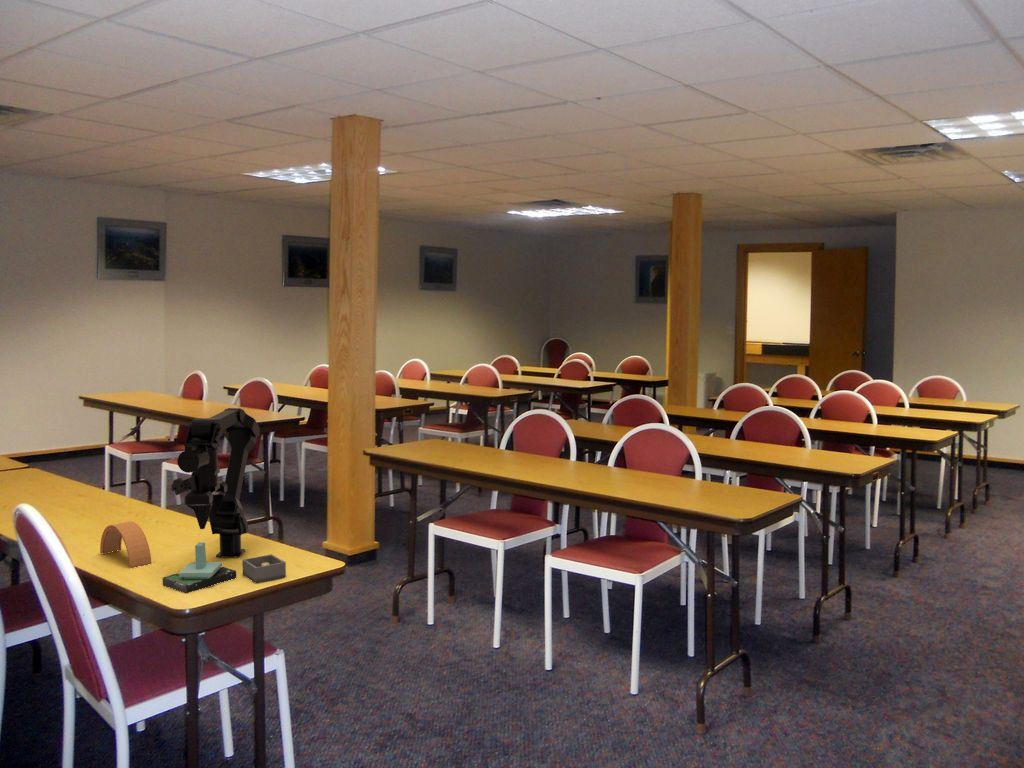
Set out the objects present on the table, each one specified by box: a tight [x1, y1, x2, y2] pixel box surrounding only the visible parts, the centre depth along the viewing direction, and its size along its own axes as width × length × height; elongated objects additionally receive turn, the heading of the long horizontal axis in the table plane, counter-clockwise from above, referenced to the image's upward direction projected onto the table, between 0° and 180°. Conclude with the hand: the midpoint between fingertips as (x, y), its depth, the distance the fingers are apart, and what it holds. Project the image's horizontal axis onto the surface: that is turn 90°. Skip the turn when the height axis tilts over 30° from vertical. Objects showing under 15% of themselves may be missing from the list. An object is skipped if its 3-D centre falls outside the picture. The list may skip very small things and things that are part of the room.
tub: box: [241, 554, 287, 584], centre depth 226 cm, size 9×8×4 cm
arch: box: [99, 521, 152, 569], centre depth 241 cm, size 6×20×10 cm, turn 46°
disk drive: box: [162, 566, 237, 594], centre depth 221 cm, size 10×3×15 cm
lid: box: [179, 542, 223, 579], centre depth 221 cm, size 9×8×8 cm
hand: (207, 524), depth 230 cm, fingers open, 9 cm apart
